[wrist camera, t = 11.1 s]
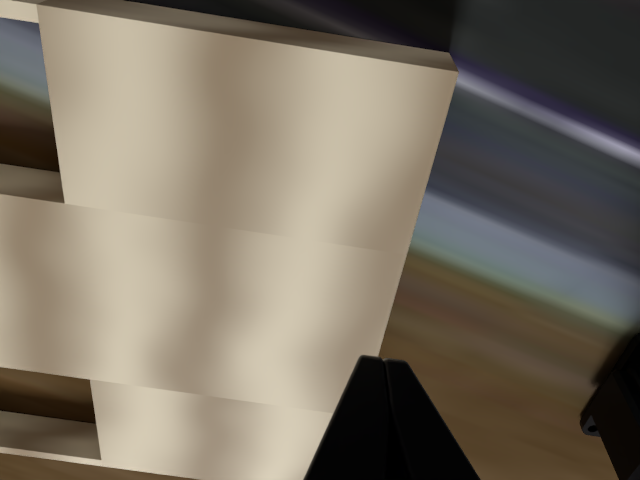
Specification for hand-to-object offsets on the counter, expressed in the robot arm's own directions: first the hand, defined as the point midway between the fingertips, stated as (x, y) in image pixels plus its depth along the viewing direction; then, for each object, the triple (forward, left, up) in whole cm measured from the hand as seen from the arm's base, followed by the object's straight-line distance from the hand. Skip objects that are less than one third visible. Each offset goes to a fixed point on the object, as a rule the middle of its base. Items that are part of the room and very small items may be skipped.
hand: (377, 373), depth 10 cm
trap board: (+12, +8, -11) cm, 18 cm away
